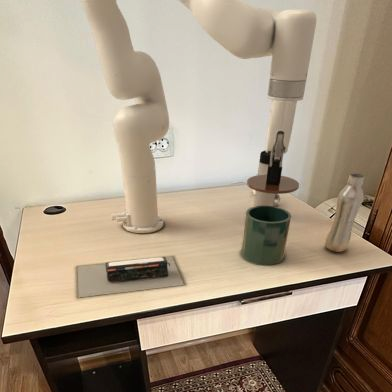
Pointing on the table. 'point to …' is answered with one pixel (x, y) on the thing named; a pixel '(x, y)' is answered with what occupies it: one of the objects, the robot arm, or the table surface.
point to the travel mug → (262, 197)
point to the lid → (261, 186)
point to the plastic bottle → (345, 213)
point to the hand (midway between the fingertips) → (272, 181)
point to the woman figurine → (276, 198)
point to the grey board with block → (127, 276)
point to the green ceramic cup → (265, 234)
